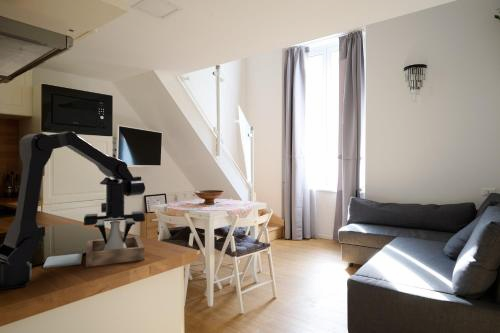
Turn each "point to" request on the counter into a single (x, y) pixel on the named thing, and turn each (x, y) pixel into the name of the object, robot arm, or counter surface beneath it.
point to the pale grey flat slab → (63, 260)
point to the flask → (115, 237)
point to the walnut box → (114, 252)
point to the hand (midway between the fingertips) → (115, 243)
